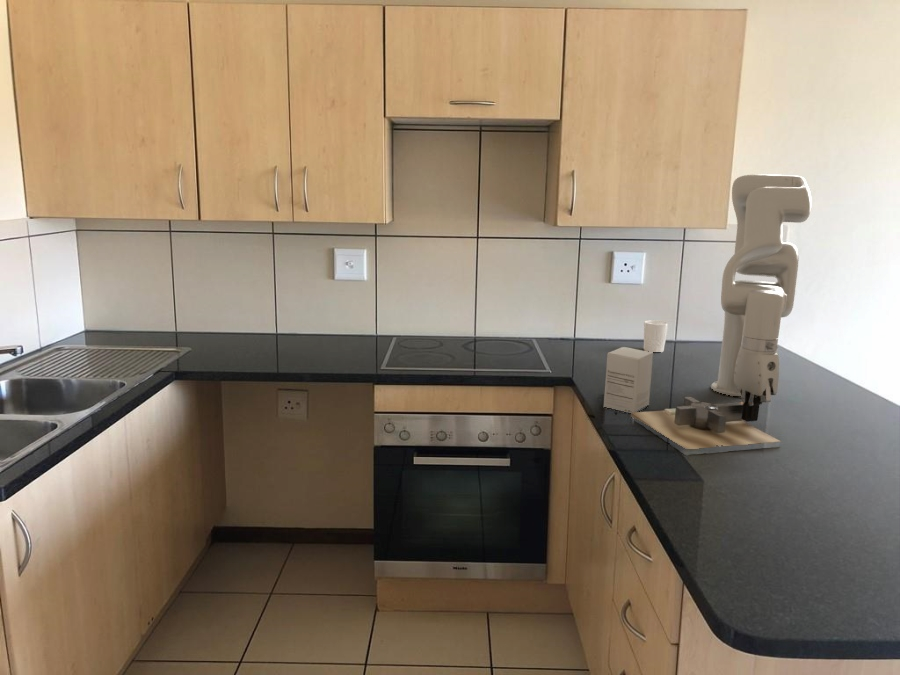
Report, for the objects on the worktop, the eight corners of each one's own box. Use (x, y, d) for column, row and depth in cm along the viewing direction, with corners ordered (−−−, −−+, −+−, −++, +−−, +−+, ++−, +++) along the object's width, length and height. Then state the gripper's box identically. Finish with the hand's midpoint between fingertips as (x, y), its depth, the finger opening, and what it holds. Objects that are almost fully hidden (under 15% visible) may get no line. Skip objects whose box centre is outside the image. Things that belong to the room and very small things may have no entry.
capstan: (734, 411, 173) (736, 393, 172) (773, 431, 160) (775, 412, 159) (660, 417, 168) (661, 398, 167) (693, 438, 155) (695, 418, 154)
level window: (686, 409, 175) (686, 407, 175) (692, 413, 172) (692, 410, 172) (664, 411, 173) (664, 408, 173) (670, 414, 171) (670, 412, 171)
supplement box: (617, 399, 187) (622, 345, 183) (649, 407, 181) (654, 351, 178) (602, 407, 180) (606, 352, 176) (634, 415, 174) (639, 358, 171)
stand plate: (714, 412, 178) (715, 406, 178) (779, 447, 155) (781, 440, 155) (630, 418, 172) (631, 411, 172) (685, 455, 149) (686, 448, 149)
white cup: (637, 348, 243) (639, 321, 241) (654, 347, 246) (657, 319, 244) (652, 354, 236) (654, 325, 234) (670, 352, 239) (673, 324, 237)
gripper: (796, 351, 152) (785, 430, 156) (751, 336, 166) (742, 408, 170) (767, 353, 150) (757, 432, 154) (724, 337, 164) (715, 410, 168)
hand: (749, 419), depth 162 cm, fingers closed
